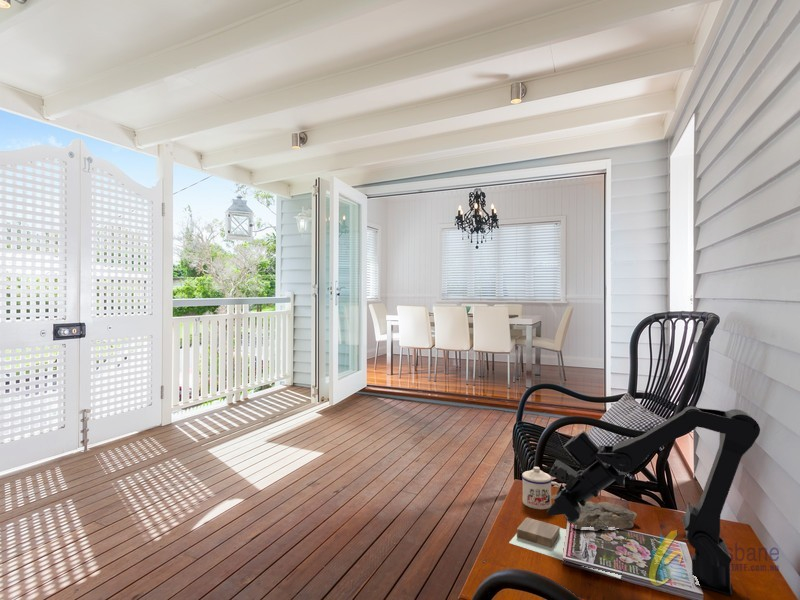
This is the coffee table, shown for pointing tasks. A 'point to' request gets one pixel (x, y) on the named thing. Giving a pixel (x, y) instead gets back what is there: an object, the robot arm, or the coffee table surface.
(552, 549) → the sage mat
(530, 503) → the teacup with lid
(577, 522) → the grey rock
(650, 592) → the coffee table surface
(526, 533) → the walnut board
